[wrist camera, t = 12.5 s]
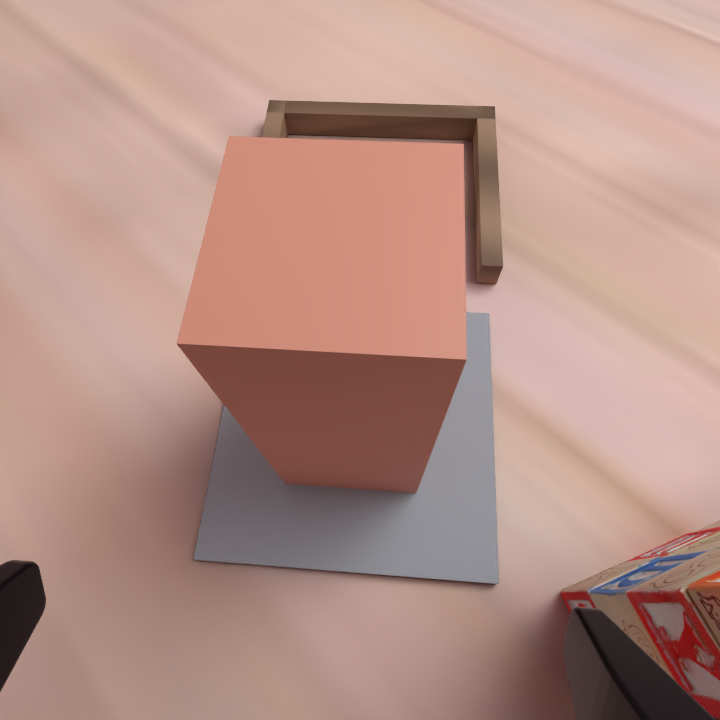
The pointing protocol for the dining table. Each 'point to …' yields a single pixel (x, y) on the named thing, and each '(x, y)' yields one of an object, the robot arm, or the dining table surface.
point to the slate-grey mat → (368, 500)
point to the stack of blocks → (668, 608)
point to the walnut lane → (413, 124)
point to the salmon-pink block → (334, 304)
